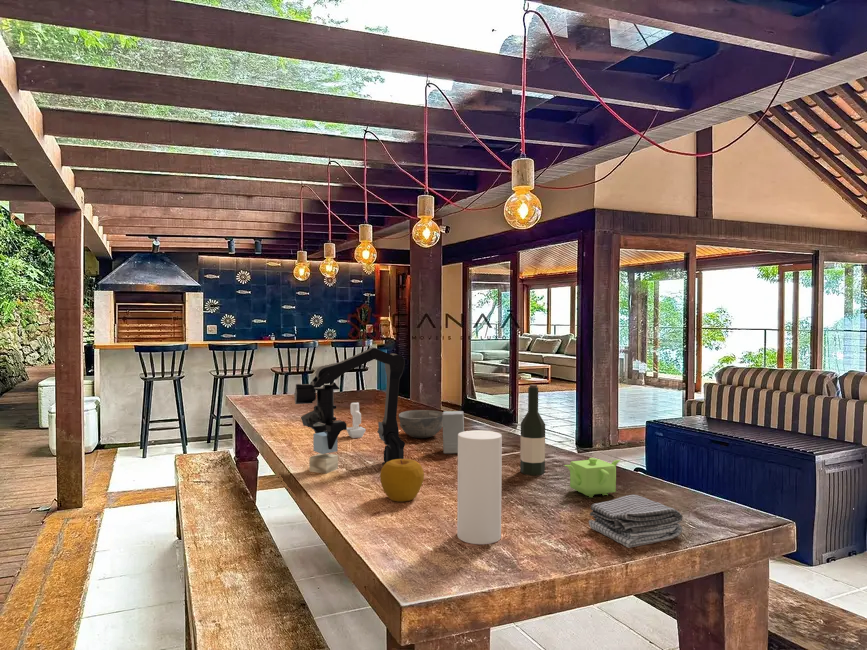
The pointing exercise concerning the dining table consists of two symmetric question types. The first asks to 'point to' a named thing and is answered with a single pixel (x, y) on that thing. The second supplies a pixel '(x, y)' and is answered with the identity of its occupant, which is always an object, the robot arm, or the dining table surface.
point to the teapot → (593, 476)
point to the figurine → (355, 422)
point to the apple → (401, 479)
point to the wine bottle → (532, 437)
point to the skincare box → (452, 430)
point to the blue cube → (323, 443)
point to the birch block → (323, 463)
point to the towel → (635, 520)
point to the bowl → (421, 423)
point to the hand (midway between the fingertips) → (325, 447)
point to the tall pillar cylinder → (479, 486)
